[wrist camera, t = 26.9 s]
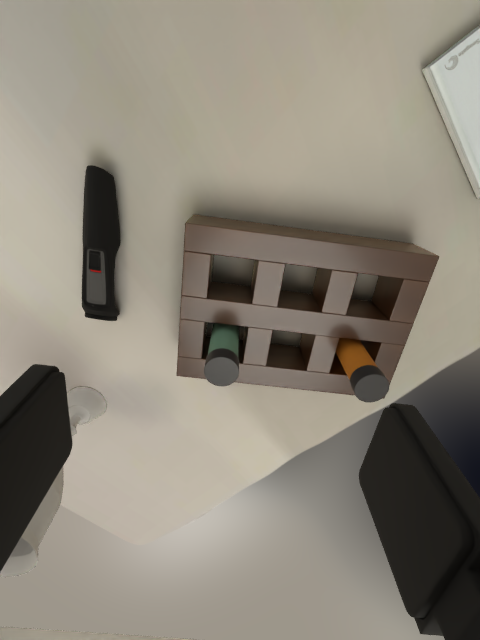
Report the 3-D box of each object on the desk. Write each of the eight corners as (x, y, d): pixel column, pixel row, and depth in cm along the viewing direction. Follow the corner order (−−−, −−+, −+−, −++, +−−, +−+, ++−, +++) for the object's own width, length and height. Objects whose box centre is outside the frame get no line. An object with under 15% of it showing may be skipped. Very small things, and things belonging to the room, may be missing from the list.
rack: (193, 214, 33) (185, 222, 28) (413, 243, 34) (439, 256, 29) (184, 351, 39) (176, 376, 35) (368, 372, 40) (384, 398, 36)
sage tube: (214, 307, 37) (205, 355, 28) (241, 310, 37) (241, 359, 28) (211, 331, 38) (202, 384, 29) (237, 334, 38) (236, 388, 29)
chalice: (118, 388, 42) (38, 533, 25) (112, 428, 44) (37, 583, 28) (58, 374, 41) (-64, 516, 25) (55, 416, 44) (-56, 568, 27)
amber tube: (331, 321, 38) (360, 372, 29) (357, 324, 38) (394, 376, 29) (325, 344, 39) (350, 400, 30) (350, 347, 39) (383, 404, 30)
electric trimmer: (127, 169, 31) (115, 170, 28) (121, 319, 38) (111, 331, 35) (86, 161, 31) (70, 161, 28) (87, 313, 37) (74, 325, 34)
